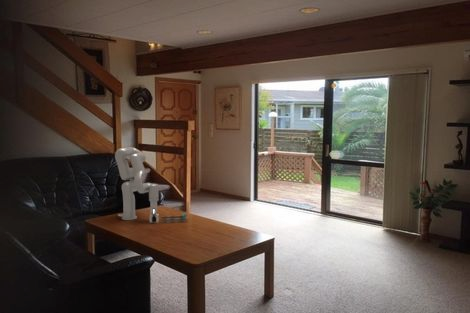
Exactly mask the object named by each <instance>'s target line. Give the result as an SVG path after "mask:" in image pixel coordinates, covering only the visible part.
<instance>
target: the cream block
mask: <svg viewBox="0 0 470 313" xmlns="http://www.w3.org/2000/svg"><path fill="white" fill-rule="evenodd" d="M159 216H160V215H159V213H156V222H155V223H159V222H160V219H159ZM149 223H154V222H152V213H150V214H149Z"/></svg>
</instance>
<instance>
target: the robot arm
mask: <svg viewBox="0 0 470 313" xmlns="http://www.w3.org/2000/svg"><path fill="white" fill-rule="evenodd" d="M126 158H129V161H130V164H131V167H130V166H129V162H128V160H127V159H126ZM146 158H147V157H146V154H144V153H143V152H142V151H140V150H139V149H138V148H135V147H133V146H128V147H126V146H125V147H121V148H119V149H117V150H116V151H115V152H114V159H115V161H116V165H117V168H118V172H119V176H120V178H121V180H122V181H124V182H123V183H122V184H121V191H122V202H123V207H122V210H123V213H117V216H118V217H121V219H122V220H124V221H133V220H136V219H137V218H138V216H137V215H136V198H135V194H134V192H138V194H145V193H148V201H149V202H150V207H149V209H150V214H152V222H153V223H157V222H156V214H158V212H157V211H158V202H159V200H160V199H159V184H158V183H151V182H144V183H143V182H142V176H143V174H144V172H145V171H146V169H145V166H144V163H145V161H146ZM128 180H129V181H128Z"/></svg>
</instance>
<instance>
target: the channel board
mask: <svg viewBox="0 0 470 313" xmlns="http://www.w3.org/2000/svg"><path fill="white" fill-rule="evenodd" d="M181 213H182V215H168V216H167V215H165V216H164V215H162V216H161V224H171V223H172V224H176V223H178V224H179V223H188V222H187V212H181Z"/></svg>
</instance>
